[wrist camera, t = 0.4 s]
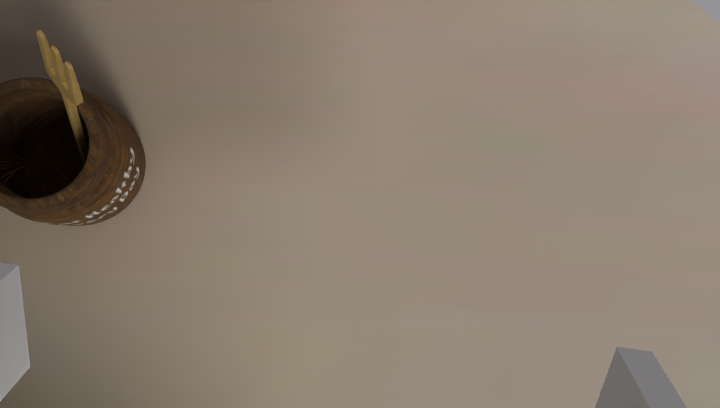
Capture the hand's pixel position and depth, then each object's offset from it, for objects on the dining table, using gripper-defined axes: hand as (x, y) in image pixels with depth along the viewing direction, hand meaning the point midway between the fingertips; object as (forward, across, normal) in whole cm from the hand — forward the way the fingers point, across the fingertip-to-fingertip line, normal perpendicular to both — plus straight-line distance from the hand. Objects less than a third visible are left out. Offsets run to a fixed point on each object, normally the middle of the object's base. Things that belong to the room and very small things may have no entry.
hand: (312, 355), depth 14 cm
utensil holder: (+16, +13, +3) cm, 21 cm away
